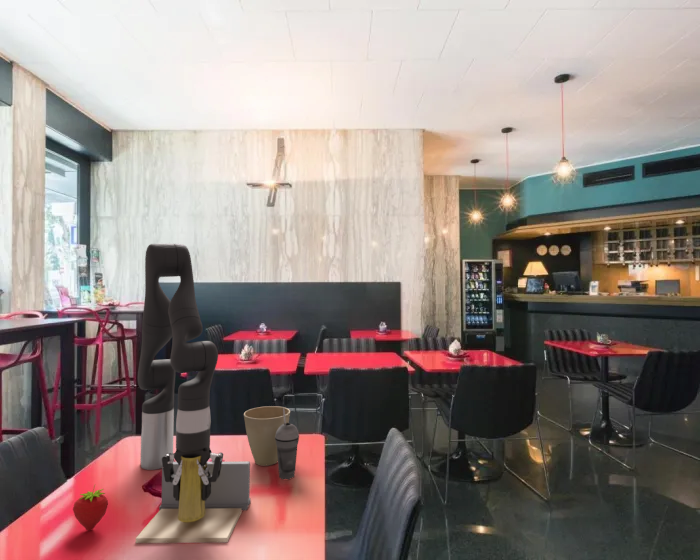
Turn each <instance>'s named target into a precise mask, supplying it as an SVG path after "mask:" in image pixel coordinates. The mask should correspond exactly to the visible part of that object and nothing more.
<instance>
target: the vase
mask: <svg viewBox="0 0 700 560" xmlns="http://www.w3.org/2000/svg"><path fill="white" fill-rule="evenodd" d="M197 459H198V460H199V462H201V456H199V457H195V458H184V457H183V456H181V461H182V473H181V477H180V495H179V512H178V520H179V521H181V522H186V523H188V522H194V521H197V520H199V519H201V518H202V517H203V516H204V515H205V513H206V510H205V501H203V500H202V493H203V484H204V483H203V481H202V478H201V477H200V476H199V474H198V468H199V467H198V465H197ZM204 468H205V465H204V467H203V469H204Z"/></svg>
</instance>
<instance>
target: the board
mask: <svg viewBox="0 0 700 560" xmlns="http://www.w3.org/2000/svg"><path fill="white" fill-rule="evenodd" d="M241 509H242V508H214V509H205V510H206V513H205V515H204V516H203V517H202V518H201V519H199V520H197V521H194V522H188V523H186V522H181V521H179V520H178V512H179V509H161V510H160V511H159V510H158V512H157V513H156V514H155V515H154V516H153V518H152V519H151V520H150V521H149V522H148V524H147V525H145V527H144V528H143V529H142V531H140V533H139V534H138V535H137V536H136V537H135V544H167V543H169V544H175V543H176V544H178V543H179V544H180V543H181V544H184V543H185V544H187V543H189V544H192V543H204V544H205V543H228V542H229V539H230V538H231V535H232V534H233V531H234V529H235V527H236V525H237V523H238V520H239V518H240V516H241V514H242V510H241Z"/></svg>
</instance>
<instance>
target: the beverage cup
mask: <svg viewBox="0 0 700 560" xmlns="http://www.w3.org/2000/svg"><path fill="white" fill-rule="evenodd" d="M283 415H284V424H282V425H281V426H280V427H279V428H278V430H277V432H276V436H275V440H276V445H277V456H278V462H277V466H278V467H277V469H278V475H279V476H278V477H279V479H280V478H281V480H284V479H288V480H291V479H290V478H292V477H293V478H294V477H295V474H296V473H295V472H296V468H297V467H296V465H297V454H298V445H299V440H300V435H299V430H298V428H297V426H296V425H295V424H292V422H289V423H286V419H285V409H283ZM293 478H292V479H293Z"/></svg>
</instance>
